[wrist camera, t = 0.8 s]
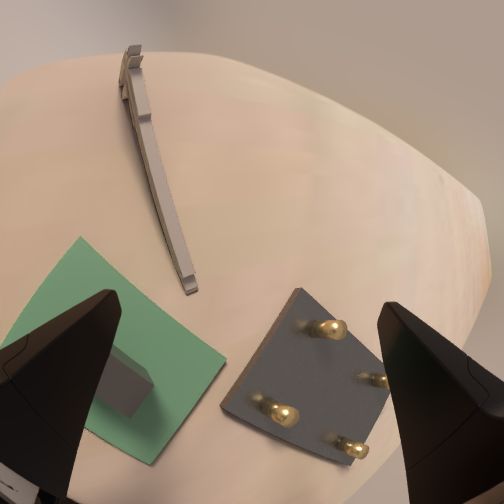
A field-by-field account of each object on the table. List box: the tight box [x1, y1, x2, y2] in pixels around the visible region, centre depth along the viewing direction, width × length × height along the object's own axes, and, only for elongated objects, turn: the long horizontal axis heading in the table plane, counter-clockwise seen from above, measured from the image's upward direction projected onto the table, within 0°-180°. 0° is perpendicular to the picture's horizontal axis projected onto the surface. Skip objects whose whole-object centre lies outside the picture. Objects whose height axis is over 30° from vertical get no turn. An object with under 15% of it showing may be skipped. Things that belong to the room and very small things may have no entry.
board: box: [0, 236, 227, 465], centre depth 15 cm, size 11×14×6 cm
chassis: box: [220, 288, 390, 466], centre depth 23 cm, size 12×18×4 cm, turn 54°
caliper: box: [119, 45, 198, 294], centre depth 19 cm, size 20×1×6 cm, turn 25°
